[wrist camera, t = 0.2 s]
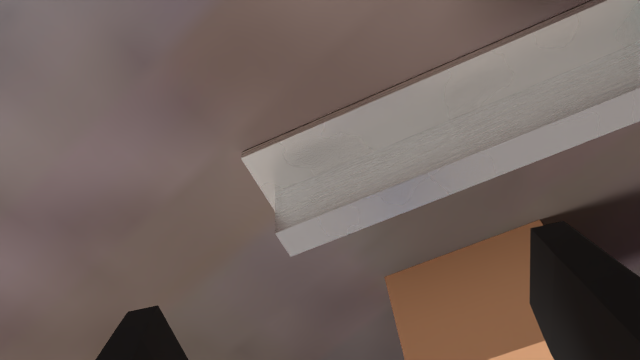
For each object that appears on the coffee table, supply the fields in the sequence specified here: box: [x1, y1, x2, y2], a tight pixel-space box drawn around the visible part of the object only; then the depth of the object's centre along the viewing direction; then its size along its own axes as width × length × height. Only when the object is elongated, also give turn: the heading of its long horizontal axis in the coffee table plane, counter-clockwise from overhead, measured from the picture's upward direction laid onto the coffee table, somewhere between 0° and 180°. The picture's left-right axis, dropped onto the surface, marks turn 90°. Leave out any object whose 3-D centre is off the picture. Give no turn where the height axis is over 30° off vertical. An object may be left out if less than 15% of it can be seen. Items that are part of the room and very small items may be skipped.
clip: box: [385, 220, 554, 360], centre depth 22 cm, size 4×7×6 cm, turn 114°
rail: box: [241, 0, 640, 257], centre depth 18 cm, size 5×18×3 cm, turn 114°
